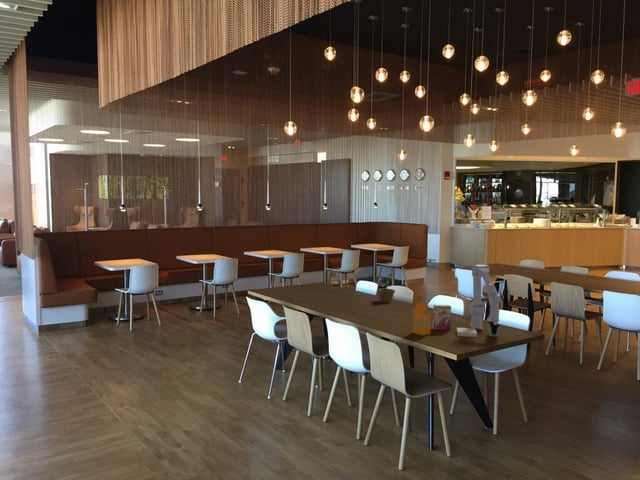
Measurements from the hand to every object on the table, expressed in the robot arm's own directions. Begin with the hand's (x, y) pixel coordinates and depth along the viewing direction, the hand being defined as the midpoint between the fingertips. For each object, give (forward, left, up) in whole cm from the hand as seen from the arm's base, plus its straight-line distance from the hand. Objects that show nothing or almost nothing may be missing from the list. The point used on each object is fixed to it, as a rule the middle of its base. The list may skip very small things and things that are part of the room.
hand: (493, 333), depth 340 cm
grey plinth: (+1, -17, -2) cm, 17 cm away
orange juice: (+7, -46, -2) cm, 47 cm away
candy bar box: (-7, -33, -2) cm, 34 cm away
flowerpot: (-94, -77, -2) cm, 122 cm away
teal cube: (0, 0, -1) cm, 1 cm away
